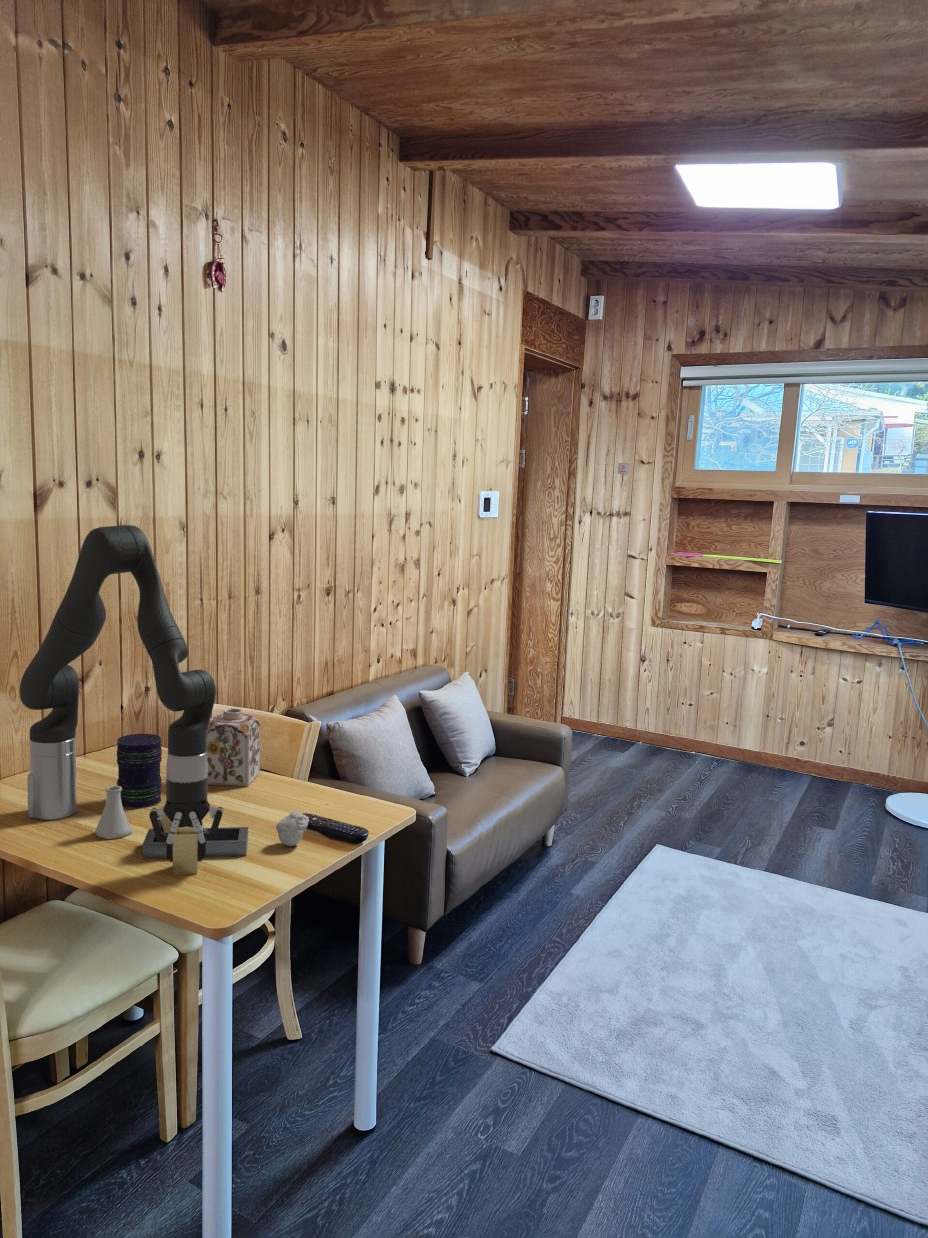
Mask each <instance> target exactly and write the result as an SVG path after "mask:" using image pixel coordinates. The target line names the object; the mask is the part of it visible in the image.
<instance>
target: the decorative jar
mask: <svg viewBox="0 0 928 1238" xmlns="http://www.w3.org/2000/svg"><path fill="white" fill-rule="evenodd" d="M206 736H207V737H206V754H207V763H208V773H207V786H208V785H211V786H213V785H214V786H227V787H228V786H230V787H245V788H247V787H249V786H250V785H251V784H252V783H253V781H254V780H256V778H257V777H258V776H259V774H260V773H261V723H260V722H259V720H258V719H257V718H256V717H255V716H253V715H251V714H248V713H243V710H242V709H239V708H232V707H231V708H226V709H225V708H224V710H223V713H222V714H221V713H220V714H217V715H214V716H212V717H210V721H209V724H208V727H207V731H206Z"/></svg>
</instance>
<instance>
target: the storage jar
mask: <svg viewBox="0 0 928 1238" xmlns="http://www.w3.org/2000/svg"><path fill="white" fill-rule="evenodd" d="M116 742H117V743H116V745H117V746H116V749H117V750H116V758H117V759H116V764H117V765H118V771H117V772H118V776H117V777H118V778H117V780H116V786H121V788H122V791H121V792H120V795H121V802H122V807H123V809H124V808H125V809H145V808H151V807H154V806H156V805H158V804H160V803H161V801H162V796H161V795H162V788H163V787H162V782H163V781H162V780H163V779H162V777H161V763H162V758H163V757H162V754H163V752H162V750H163V749H162V737H161V735H158V734H157V735H156V734H151V733H135V734H134V733H132V734H126V735H123V736H120V737H118V738H117V741H116Z"/></svg>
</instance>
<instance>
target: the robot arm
mask: <svg viewBox="0 0 928 1238" xmlns="http://www.w3.org/2000/svg"><path fill="white" fill-rule="evenodd" d="M76 561H77V562H76V564H75V568H74V571H73V574H72V577H71V580H70V582H69V585H68V587H67V589H66V592H65V593H64V597H63V598H62V601H61V602H60V604H59V606H58V608H57V610H56V612H55V613H54V617H53V619H52V621H51V623H50V627H49V629H48V631H47V633H46V636H45V637H44V639H43V641H42V643H41V644H40V647H39V648H38V650H37V652H36V653H35V655H34V657H33V658H32V660H31V661H30V662H29V664H28V666H27V667H26V668H25V671H24V672H23V674H22V677H21V680H20V683H19V698H20V701H21V703H22V704H23V706H24V707H26V708H27V709H29V710H34V711H36V710H37V711H39V710H42V711H43V710H48V709H49V710H50V709H52V710H51V711H50V712H49V714H48V715H46V716H45V717H44V718H41V719H40V720H38V721H36V722H35V723H34V724H32V725H31V726H30V728H29V765H30V766H29V770H30V771H29V773H28V774H27V777H26V778H27V779H26V781H27V818H30V819H32V818H34V819H37V820H46V821H47V820H50V821H51V820H61V819H64V818H67V817H70V816H73V815H75V813H76V812H77V750H76V749H77V747H76V746H77V739H76V738H77V737H76V736H77V734H76V733H77V732H76V731H77V728H78V727H77V726H78V722H79V721H78V720H79V703H80V702H79V700H80V684H79V677H78V675H77V672H76V669H74V667H73V666H72V665H69V664H70V663H72V662H74V660H76V659H78V658H79V657H80V656H82V655H84V653H86V652H87V651H88V650H89V649H90V648H91V647H92V646H93V645H94V643H96V641H97V639H98V637H99V635H100V633H101V631H102V629H103V628H104V625H105V622H106V619H107V611H106V608H105V604H104V601H103V599H102V597H101V595H100V590H101V587H102V585H103V584H104V581H105V580H106V579H107V578H108V577H109V576H111V575H116V574H126V573H130V574H131V575H132V576H133V578H134V580H135V582H136V584H137V587H138V591H139V601H138V602H139V603H138V609H137V620H136V621H137V622H136V623H137V624H136V625H137V630H138V634H139V637H140V640H141V641H142V644H143V646H144V648H145V650H146V651H147V652H146V653H147V654H148V656H149V658H150V661H151V663H152V668H153V676H154V681H155V686H156V687H155V688H156V692H157V697H158V699H159V701H160V703H161V704H162V705H163V706H164V707H165V708H166V709H168V710H169V711H171V712H182V715H181V716H180V718H178V719H176V720H174V721H173V722H172V723H170V724H169V726H168V729H167V757H166V758H167V759H166V767H165V768H166V777H165V784H166V785H165V787H166V790H165V791H166V793H165V795H166V797H165V799H166V801H165V804H164V805H163V806H164V807H162V806H161V807H162V808H161V807H158V808H157V807H152V808H151V809H150V812H149V814H148V817H149V819H150V823H151V826H152V829H154V833H155V836H156V839H157V840H158V841H164V842H165V843H166V844H167V860H169V862H170V863H173V833H176V831H177V828H182V827H186V826H187V827H194V830H195V833H198V840H199V842H198V861H199V862H202V860H203V859H205V858H206V857H205V854H206V842H207V841H208V840H214V839H215V836H216V833H217V830H218V828H220V823H221V820H222V817H223V812H224V808H223V807H222V806H218V807H215V806H211V804H210V803H209V801H208V784H207V773H208V763H207V754H206V737H207V736H206V731H207V727H208V724H209V721H210V719H211V718H212V717H211V716H212V713H213V709H214V705H215V702H216V697H217V690H216V689H217V688H216V684H215V680H214V678H213V676H212V675H211V674H210V673H209V672H208V671H206V670H204V669H192V670H189V671H182V672H181V670H180V667H179V666H180V665H179V664H180V663H182V662H184V661H185V660H186V659H187V658H188V656H189V652H190V651H189V648H188V645H187V643H186V641H185V639H184V637H183V634H182V632H181V630H180V628H179V626H178V624H177V622H176V620H175V619H174V615H173V614H172V611H171V609H170V606H169V604H168V599H167V597H166V594H165V591H164V587H163V583H162V580H161V577H160V572H159V569H158V566H157V564H156V560H155V557H154V554H153V550H152V548H151V545H150V542H149V540H148V538H147V536H146V534H145V533H144V532H143V531H142V529H141V528H139V527H138V526H136V525H133V524H131V525H130V524H129V525H128V524H123V525H122V524H121V525H110V526H100V527H95V528H93V529H91V530H90V531H89V532H88V533H87V535H86V536H85V538H84V540H83V542H82V545H81V549H80V551H79V555H78V557H77V560H76ZM163 813H165V814H166V816H167V817H168V818H169V819H170V821H171V822H172V826H171V829H170V831H169V834H168V833H165V832H164V829H163V826H162V823H161V819H162V817H163ZM208 813H209V814H210V818H211V820H212V822H211V823H212V824H211V827H210V828H211V829H210V831H209V832H205V829H204V828H205V825H204V822H203V819H205V817H206V816H207V814H208Z"/></svg>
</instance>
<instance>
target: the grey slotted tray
mask: <svg viewBox="0 0 928 1238" xmlns="http://www.w3.org/2000/svg"><path fill="white" fill-rule="evenodd" d="M204 829H205V832H209V831H210V829H211V827H204ZM248 846H249V826H236V827H235V826H231V827H230V826H229V827H218V830H217V833H216V836H215V839H214V840H208V841H207V842H206V854H205V857H204V858H207V857H211V858H213V857H239V856H240V857H241V856H248V855H247V853H248ZM166 858H167V844H166V843H165V842H159V841H158V840H157V839H156V836H155V833H154V829H153V828H148V830H147V833H146V835H145V838H144V840H143V842H142V859H166Z"/></svg>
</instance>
